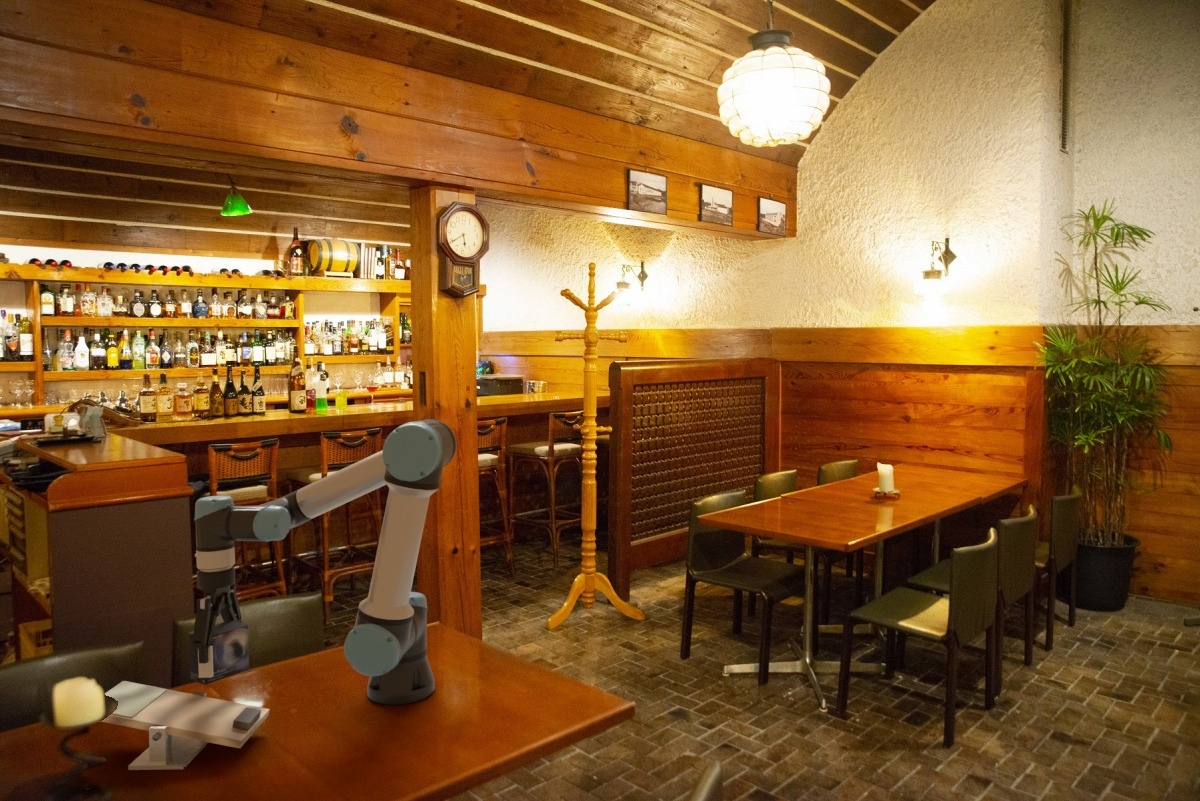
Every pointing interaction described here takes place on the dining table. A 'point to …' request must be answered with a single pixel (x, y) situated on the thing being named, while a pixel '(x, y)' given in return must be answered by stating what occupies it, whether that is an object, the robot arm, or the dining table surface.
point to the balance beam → (185, 714)
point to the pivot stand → (167, 750)
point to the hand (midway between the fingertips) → (219, 666)
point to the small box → (223, 652)
